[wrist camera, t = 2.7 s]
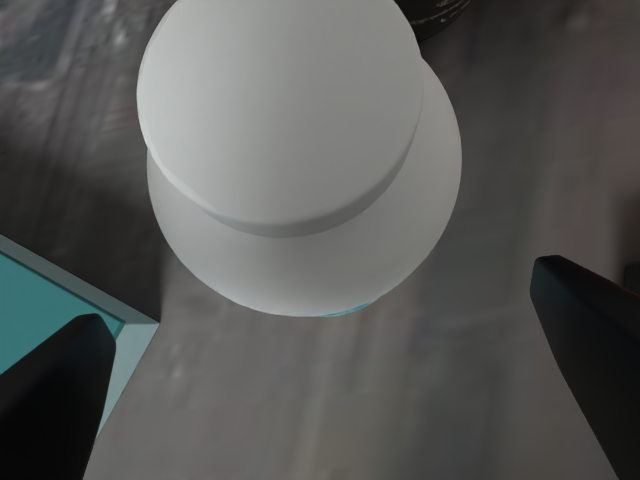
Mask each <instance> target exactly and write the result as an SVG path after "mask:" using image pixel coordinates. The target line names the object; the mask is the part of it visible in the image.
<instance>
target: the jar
mask: <svg viewBox="0 0 640 480" xmlns="http://www.w3.org/2000/svg"><path fill="white" fill-rule="evenodd" d="M393 1H394V2H395V3H396V4H397V5H398V7H399V8H400V10H401V11H402V13H403V15H404V16H405V18H406V19H407V21H408V22H409V24H410V26H411V28H412V30H413V32H414V34H415V38H416V41H417V42H418V41H421V40H424V39H426V38H428V37H430V36H432V35H434V34H436V33H438V32H439V31H441V30H443V29H444V28H445V27H447V26H448V25H449V24H450V23H452V22H453V21H454V20H455V19H456V18H457V17H458V16H459V15H460V14H461V13H462V12H463V10H464V9H465V8H466V7H467V6H468V4H469V3H470V2H471V1H472V0H393Z"/></svg>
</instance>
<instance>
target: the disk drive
mask: <svg viewBox="0 0 640 480" xmlns="http://www.w3.org/2000/svg"><path fill="white" fill-rule="evenodd" d="M625 276H626V282H625V286H626V289H628V290H630V291H632V292H634V293H636V294H638V295H640V260H639V261H636V262H631V263H628V264H626V265H625Z"/></svg>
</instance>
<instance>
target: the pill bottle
mask: <svg viewBox="0 0 640 480" xmlns="http://www.w3.org/2000/svg"><path fill="white" fill-rule="evenodd" d="M137 107H138V116H139V121H140V127H141V130H142V133H143V137H144V140H145V143H146V145H147V147H148V152H147V179H148V188H149V194H150V198H151V203H152V206H153V210H154V214H155V216H156V219H157V221H158V224H159V226H160V228H161V231H162V233H163V235H164V237H165V238H166V240H167V242H168V244H169V245H170V247H171V248H172V250H173V251H174V253H175V254H176V256H177V257H178V258H179V259H180V261H181V262H182V263H183V264H184V265H185V266H186V267H187V268H188V269H189V270H190V271H191V272H192V273H193V274H194V275H195V276H196V277H197V278H198V279H200V280H201V281H202V282H203V283H205V284H206V285H207V286H209V287H210V288H211V289H213V290H215V291H216V292H218V293H219V294H221V295H223V296H225V297H226V298H228V299H230V300H232V301H234V302H236V303H238V304H240V305H243V306H246V307H248V308H251V309H254V310H257V311H261V312H265V313H270V314H276V315H285V316H315V317H325V316H338V315H343V314H347V313H351V312H354V311H357V310H359V309H361V308H363V307H365V306H367V305H369V304H371V303H373V302H374V301H376V300H377V299H379V298H380V297H382V296H383V295H384V294H386V293H388V292H389V291H391V290H392V289H393V288H395V287H396V286H397V285H398V284H400V283H401V282H402V281H403V280H405V279H406V278H407V277H408V276H409V275H410V274H411V273H412V272H413V271H414V270H415V269H416V268H417V267H418V266H419V265H420V264H421V263H422V262H423V261H424V259H425V258H426V257H427V256H428V255H429V253H430V252H431V251H432V249H433V248H434V247H435V245H436V244H437V242H438V240H439V239H440V237H441V235H442V234H443V232H444V230H445V228H446V226H447V223H448V221H449V219H450V217H451V214H452V211H453V208H454V206H455V203H456V199H457V195H458V190H459V185H460V178H461V165H462V154H461V141H460V133H459V128H458V124H457V120H456V116H455V113H454V110H453V107H452V105H451V102H450V100H449V98H448V95H447V93H446V91H445V89H444V87H443V86H442V84H441V82H440V80H439V79H438V77H437V76H436V74H435V73H434V72H433V70H432V69H431V68H430V66H429V65H428V64H427V63H426V61H425V60H424V59H423V58H422V57H421V54H420V49H419V47H418V44H417V41H416V38H415V34H414V32H413V30H412V28H411V26H410V24H409V22H408V21H407V19H406V18H405V16H404V15H403V13H402V11H401V10H400V8H399V7H398V5H397V4H396V3H395V2H394V1H393V0H177V1H176V2H175V3H174V5H173V6H172V7H171V8H170V9H169V10H168V11H167V13H166V14H165V15H164V17H163V18H162V20H161V21H160V23H159V24H158V26H157V28H156V29H155V31H154V33H153V35H152V37H151V39H150V41H149V43H148V45H147V47H146V50H145V53H144V56H143V59H142V62H141V66H140V69H139V77H138V84H137Z"/></svg>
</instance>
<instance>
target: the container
mask: <svg viewBox="0 0 640 480" xmlns="http://www.w3.org/2000/svg"><path fill="white" fill-rule="evenodd" d="M91 313H97V314H99V315H100V316H101V317H102V318H103V320H104V321H105V323H106V325H107V326H108V328H109V330H110V332H111V333H112V335H113V337H114V338H115V341H116V354H115V359H114V364H113V369H112V374H111V378H110V383H109V388H108V393H107V398H106V403H105V407H104V412H103V416H102V419H101V423H100V426H99V430H98V433H97V436H96V439H97V437H98V435H99V433H100V431H101V429H102V428H103V426H104V424H105V422H106V420H107V419H108V417H109V415H110V413H111V411H112V410H113V408H114V406H115V404H116V402H117V400H118V399H119V397H120V395H121V393H122V391H123V390H124V388H125V386H126V384H127V382H128V381H129V379H130V377H131V375H132V373H133V372H134V370H135V368H136V366H137V364H138V362H139V361H140V359H141V357H142V355H143V353H144V352H145V350H146V348H147V346H148V344H149V343H150V341H151V339H152V337H153V335H154V333H155V332H156V330H157V328H158V326H159V324H160V323H158V322H157V321H155V320H153V319H151V318H150V317H148V316H146V315H144V314H142V313H141V312H139V311H137V310H135V309H133V308H132V307H130V306H128V305H126V304H124V303H123V302H121V301H119V300H117V299H116V298H114V297H112V296H110V295H108V294H107V293H105V292H103V291H101V290H99V289H98V288H96V287H94V286H92V285H90V284H89V283H87V282H85V281H83V280H82V279H80V278H78V277H76V276H74V275H73V274H71V273H69V272H67V271H65V270H64V269H62V268H60V267H58V266H57V265H55V264H53V263H51V262H49V261H48V260H46V259H44V258H42V257H40V256H39V255H37V254H35V253H33V252H31V251H30V250H28V249H26V248H24V247H23V246H21V245H19V244H17V243H15V242H14V241H12V240H10V239H8V238H6V237H5V236H3V235H1V234H0V374H2V373H3V372H4V371H6V370H7V369H8V368H9V367H11V366H12V365H13V364H15V363H16V362H17V361H19V360H20V359H21V358H22V357H24V356H25V355H26V354H28V353H29V352H30V351H32V350H33V349H34V348H36V347H37V346H38V345H39V344H41V343H42V342H43V341H45V340H46V339H47V338H49V337H50V336H51V335H52V334H54V333H55V332H56V331H58V330H59V329H60V328H62V327H63V326H64V325H65V324H67V323H68V322H69V321H71V320H72V319H73V318H75V317H76V316H78V315H83V314H91ZM96 439H95V440H96Z"/></svg>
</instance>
